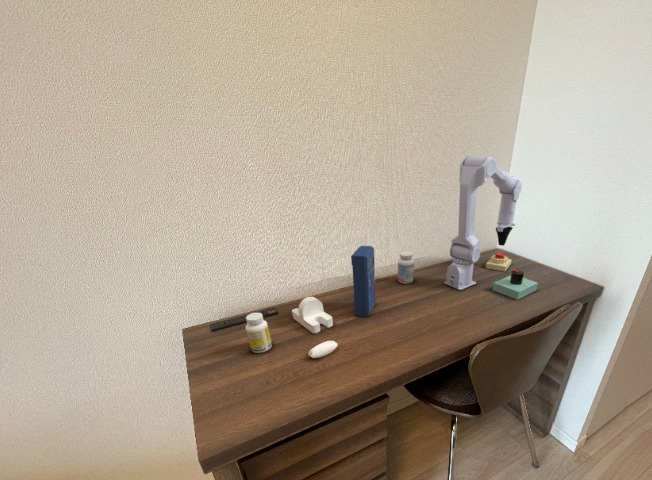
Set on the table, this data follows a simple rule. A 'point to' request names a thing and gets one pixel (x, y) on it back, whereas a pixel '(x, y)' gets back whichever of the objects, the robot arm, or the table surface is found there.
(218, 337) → the table surface
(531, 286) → the dial panel
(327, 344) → the white spindle
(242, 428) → the table surface
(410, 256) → the pill bottle
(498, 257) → the button
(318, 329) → the slotted bracket
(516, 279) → the dial
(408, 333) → the table surface
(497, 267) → the control block
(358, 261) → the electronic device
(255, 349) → the supplement bottle
